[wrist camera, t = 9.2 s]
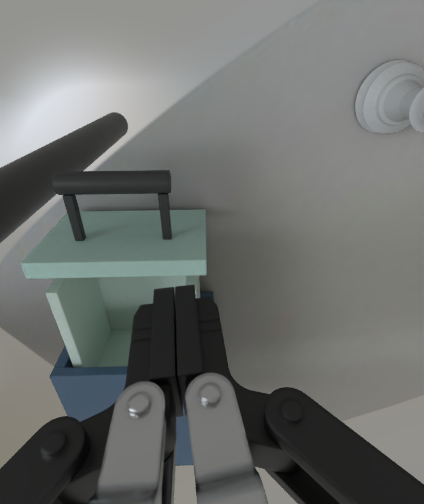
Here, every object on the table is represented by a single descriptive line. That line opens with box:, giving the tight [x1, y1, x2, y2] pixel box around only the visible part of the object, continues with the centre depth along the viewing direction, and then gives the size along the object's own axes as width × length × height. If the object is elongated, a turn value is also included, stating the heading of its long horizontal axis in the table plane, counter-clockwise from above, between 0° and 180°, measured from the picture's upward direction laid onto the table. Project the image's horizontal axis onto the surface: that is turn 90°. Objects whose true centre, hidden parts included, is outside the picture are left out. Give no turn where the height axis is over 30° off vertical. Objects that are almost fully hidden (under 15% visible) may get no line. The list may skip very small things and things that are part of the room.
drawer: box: [21, 170, 207, 368], centre depth 24 cm, size 18×11×8 cm, turn 0°
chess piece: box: [355, 60, 424, 134], centre depth 18 cm, size 5×5×8 cm
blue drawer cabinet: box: [50, 292, 213, 466], centre depth 31 cm, size 15×13×10 cm
